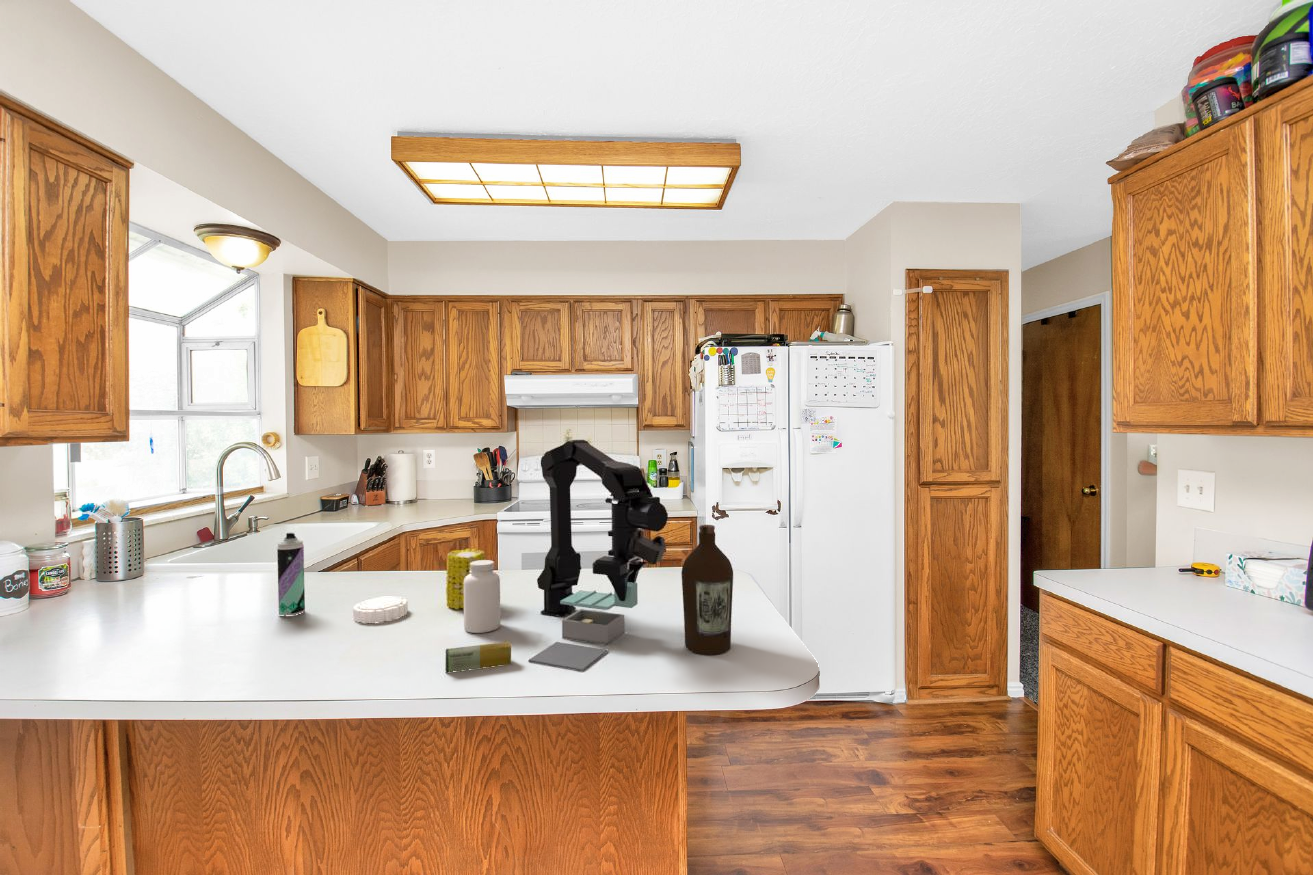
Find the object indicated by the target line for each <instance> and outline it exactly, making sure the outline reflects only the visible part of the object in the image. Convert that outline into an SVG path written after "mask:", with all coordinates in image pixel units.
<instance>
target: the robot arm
mask: <svg viewBox="0 0 1313 875" xmlns="http://www.w3.org/2000/svg"><path fill="white" fill-rule="evenodd" d="M580 465H582V466H584V468H587V469H588V470H590V471H591V472H592V473H594V474H596V475H597V476H598V477H599V478H601V484H602V486H603V487H604V488H605V489H606V490H607V491H608V492H609V494H610V495H609V496H608V497H607V498H605V500H604V501H605V503H606V504H611V530H607V536H608V537H611V549H609V550H607V552H608V553H607V556H606V555H604V556H601V557H599V558H597V559H595V561H593V563H592V574H594V575H602V576H603V575H604V576H606V578H608V580H609V582H610V583H611V586H612V587H613V591H614V590H615V592H616V594H617V596H618V598H619V600H620V601H625V598H626V591H627V582H632V583H637V578H638V576H639V575H638V574H639V572H640V570H642V569H643V567H645V566H646V565H647V564H649V565H657V563H659V562H662V559H663V555H664V553H666V552H667V545H666V540H665V537H663V536H661V535H657V536H655V537H654V538H651V537H650V538H647V537H645V536H644V530H645V531H650V532H656V533H657V532H660V531H662V530H663V529H664V528H665V527H666V525H667V522H668V519H669V516H668V515H669V514H668V512H667V509H666V507H665V505H664V504H662V503H661V498H660V496H654V495H653V493H652V490H651V488H650V486H649V485H648V483H647V481H646V479H645V477H644V475H643V470H642V469H641V468H639V466H636V465H635V464H631V463H628V462H624V461H623V462H622V461H617V460H615V459H613V458H611V457H610V456H609V455H607V454H605V453H604V452H602V451H601V450H599V449H597V448H596V447H595V446H593V445H592V444H590V443H589V441H588V440H586V439H569V440H567V441H566V442H565V443H563V444H562V445H559V446H557V447H555V448H552V449H550V450H547V451H545V453H544V454H543V456H542V457H541V459H540V467H541V473H542V478H543V480H544V481H545V482H546V484H547V485H548V487H549V507H550V512H549V513H550V517H549V518H550V548H549V550H548V551H547V554H546V555H545V558H544V568H543V570H542V571H541V573H540V574H539V576H538V577H537V579H536V582H537V586H538V589H540V590H542V591H543V607H544V608H543V609H542V610H541V611H539V612H540V614H541V615H548V616H554V617H555V616H556V617H564V616H566V615H568V614H570V613H572V612H573V611H575V610H577V608H576V607H577V606H570V605H566V604H560V601H561V600H563V599H565V598H567V597H569V596H571V595H573V594H575V593H574V592H573V586H578V583H579V578H580V575H581V571H582V564H581V554H580V552H577V551H576V550H575V549H574V547H573V542H572V541H573V539H572V538H573V537H572V506H571V505H572V502H571V499H572V498H571V486H572V484H573V482H574V481H575V478H576V476H577V471H578V467H579V466H580ZM642 560H643V561H642Z"/></svg>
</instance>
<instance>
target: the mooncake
mask: <svg viewBox="0 0 1313 875" xmlns="http://www.w3.org/2000/svg"><path fill="white" fill-rule="evenodd" d="M408 604H409V601H408V600H407V599H406V598H404V597H401V596H389V595H388V596H387V595H386V596H378V597H375V598H371V599H370V598H369V599H366V600H363V601H360V602H358V603H357V604H355V605H354V606H353V607H352V613H353V614H352V615H353V616H352V617H353V618H354V619H353V622H355V621H357V622H362V623H375V622H383V621H390V620H392V619H397V618H398V617H402V616H403V617H405V616H406V614H408V613H409V605H408ZM407 612H408V613H407ZM404 615H405V616H404ZM403 617H402V618H403ZM398 619H399V618H398ZM398 619H397V620H398ZM392 621H393V620H392ZM357 622H356V623H357ZM390 622H391V621H390ZM362 623H361V624H362ZM383 623H384V622H383ZM375 624H376V623H375Z"/></svg>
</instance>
